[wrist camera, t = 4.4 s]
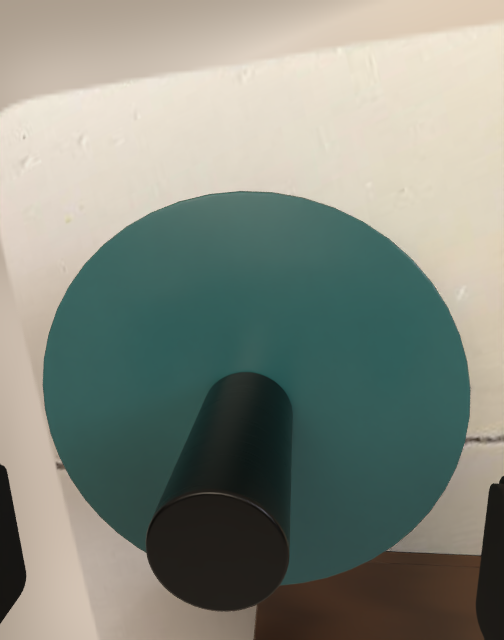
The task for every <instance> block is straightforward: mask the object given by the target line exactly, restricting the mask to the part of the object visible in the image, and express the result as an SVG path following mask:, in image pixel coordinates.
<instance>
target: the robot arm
mask: <svg viewBox="0 0 504 640" xmlns="http://www.w3.org/2000/svg"><path fill="white" fill-rule="evenodd" d="M25 582H26V570H25V565H24V560H23V554H22V548H21V543H20V538H19V532H18V527H17V522H16V517H15V511H14V506H13V501H12V496H11V490H10V485H9V479H8V474H7V470H6V468H5V467H4V466H2V465H0V623H1V622H2V620H3V619H4V618H5V616H6V615H7V613H8V612H9V610H10V609H11V608H12V606H13V605H14V603H15V602H16V601H17V599H18V598H19V596H20V595H21V593H22V591H23V588H24V586H25ZM476 615H477V620H478V624H479V627H480V630H481V632H482V635H483V637H484V640H504V476H503V477H502V478H501V479H500V482H499V484H494V483H493V484H492V485H491V486H490V489H489V496H488V504H487V513H486V521H485V529H484V537H483V546H482V554H481V562H480V570H479V579H478V587H477V595H476Z"/></svg>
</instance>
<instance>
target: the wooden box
mask: <svg viewBox="0 0 504 640" xmlns="http://www.w3.org/2000/svg"><path fill="white" fill-rule="evenodd" d="M480 562H481V556H469V555H447V554H425V553H403V552H383V553H381V554H380V555H378V556H377V557H375V558H374V559H372V560H370V561H367V562H365V563H363V564H361V565H359V566H357V567H355V568H353V569H351V570H348V571H345V572H342V573H339V574H336V575H333V576H331V577H328V578H323V579H319V580H314V581H310V582H305V583H298V584H289V585H280V586H279V587H278V588H277V589H276V590H275V592H274V593H273V594H272V595H270V596H269V597H268V598H267V599H265V600H264V601H262V602H261V603H259V604H257V610H256V620H255V630H254V640H484V637H483V635H482V632H481V630H480V627H479V624H478V620H477V615H476V595H477V587H478V579H479V570H480Z"/></svg>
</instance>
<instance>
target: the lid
mask: <svg viewBox="0 0 504 640" xmlns="http://www.w3.org/2000/svg"><path fill="white" fill-rule="evenodd" d="M43 392H44V403H45V411H46V415H47V420H48V424H49V428H50V433H51V436H52V438H53V441H54V444H55V446H56V449H57V452H58V455H59V457H60V459H61V461H62V463H63V465H64V467H65V469H66V471H67V472H68V474H69V476H70V478H71V480H72V481H73V483H74V484H75V486H76V487H77V488H78V490H79V491H80V493H81V494H82V496H83V497H84V499H85V500H86V501H87V502H88V503H89V504H90V506H91V507H92V508H93V509H94V510H95V511H96V512H97V514H98V515H99V516H100V517H101V518H102V519H103V520H104V521H105V522H106V523H108V524H109V525H110V526H111V527H112V528H113V529H114V530H115V531H116V532H117V533H119V534H120V535H121V536H123V537H124V538H125V539H127V540H128V541H129V542H131V543H132V544H133V545H135V546H136V547H138V548H139V549H141V550H143V551H144V552H146V553H147V558H148V561H149V564H150V567H151V569H152V571H153V573H154V574H155V576H156V577H157V579H158V580H159V582H160V583H161V584H162V585H163V586H164V587H165V588H166V589H167V590H168V591H169V592H170V593H172V594H173V595H174V596H176V597H177V598H179V599H181V600H182V601H184V602H186V603H188V604H191V605H193V606H196V607H199V608H202V609H206V610H212V611H237V610H242V609H246V608H249V607H252V606H254V605H257V604H259V603H261V602H262V601H264V600H265V599H267V598H268V597H269V596H270V595H272V594H273V593H274V592H275V590H276V589H277V588H278V587H279V586H280V585H289V584H298V583H305V582H310V581H314V580H319V579H323V578H328V577H331V576H333V575H336V574H339V573H342V572H345V571H348V570H351V569H353V568H355V567H357V566H359V565H361V564H363V563H365V562H367V561H370V560H372V559H374V558H375V557H377V556H378V555H380V554H381V553H383V552H385V551H386V550H388V549H389V548H391V547H392V546H394V545H395V544H396V543H398V542H399V541H400V540H401V539H402V538H404V537H405V536H406V535H407V534H408V533H410V532H411V531H412V530H413V529H414V528H415V527H416V526H417V525H418V524H419V523H420V522H421V520H422V519H423V518H424V517H425V516H426V515H427V514H428V513H429V512H430V511H431V509H432V508H433V506H434V505H435V503H436V502H437V501H438V499H439V498H440V496H441V495H442V493H443V492H444V491H445V489H446V487H447V485H448V483H449V481H450V479H451V477H452V475H453V473H454V471H455V469H456V467H457V464H458V461H459V458H460V455H461V452H462V449H463V446H464V443H465V439H466V433H467V428H468V422H469V416H470V381H469V373H468V365H467V359H466V356H465V352H464V348H463V345H462V341H461V337H460V334H459V332H458V329H457V327H456V325H455V323H454V320H453V318H452V316H451V314H450V311H449V309H448V307H447V306H446V304H445V302H444V301H443V299H442V298H441V296H440V294H439V293H438V291H437V290H436V288H435V286H434V285H433V283H432V282H431V281H430V280H429V278H428V277H427V276H426V275H425V274H424V273H423V271H422V270H421V269H420V268H419V267H418V266H417V264H416V263H415V262H414V261H413V260H412V259H411V258H410V257H409V256H408V255H407V254H406V253H404V252H403V251H402V250H401V249H400V248H399V247H398V246H396V245H395V244H394V243H393V242H392V241H391V240H390V239H388V238H387V237H385V236H384V235H382V234H381V233H379V232H378V231H376V230H375V229H373V228H372V227H370V226H369V225H367V224H366V223H364V222H363V221H361V220H359V219H357V218H354V217H352V216H350V215H348V214H346V213H344V212H342V211H340V210H338V209H336V208H334V207H331V206H328V205H325V204H321V203H318V202H315V201H312V200H309V199H306V198H302V197H296V196H291V195H285V194H279V193H274V192H251V191H238V192H227V193H217V194H208V195H204V196H200V197H196V198H192V199H188V200H183V201H179V202H177V203H174V204H172V205H169V206H167V207H164V208H162V209H159V210H157V211H154V212H152V213H150V214H148V215H146V216H145V217H143V218H141V219H139V220H138V221H136V222H134V223H132V224H130V225H129V226H127V227H126V228H124V229H123V230H122V231H120V232H119V233H118V234H117V235H115V236H114V237H113V238H111V239H110V240H109V241H107V242H106V243H105V244H104V245H103V246H102V247H101V248H100V249H99V250H98V251H97V252H96V253H95V254H94V255H93V256H92V257H91V258H90V259H89V260H88V261H87V262H86V263H85V265H84V266H83V267H82V269H81V270H80V272H79V273H78V274H77V276H76V277H75V279H74V280H73V281H72V283H71V284H70V286H69V287H68V289H67V291H66V293H65V295H64V297H63V299H62V301H61V303H60V305H59V307H58V309H57V311H56V314H55V317H54V320H53V323H52V326H51V329H50V332H49V335H48V341H47V346H46V351H45V357H44V370H43Z"/></svg>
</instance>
